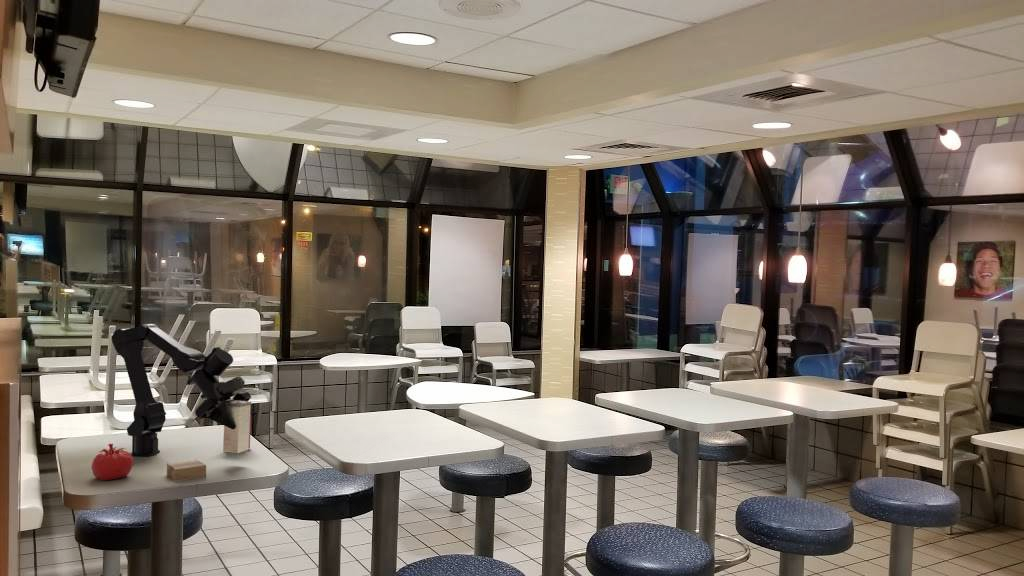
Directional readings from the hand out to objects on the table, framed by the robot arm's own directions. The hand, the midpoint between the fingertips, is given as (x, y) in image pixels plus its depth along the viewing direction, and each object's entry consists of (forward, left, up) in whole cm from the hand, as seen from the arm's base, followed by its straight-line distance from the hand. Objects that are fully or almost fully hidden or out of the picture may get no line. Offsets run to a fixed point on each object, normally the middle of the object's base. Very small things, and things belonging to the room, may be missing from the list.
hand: (240, 426), depth 226 cm
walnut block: (-8, -14, -12) cm, 20 cm away
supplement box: (-10, +18, -11) cm, 24 cm away
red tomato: (-26, -20, -12) cm, 35 cm away
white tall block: (-1, 0, -7) cm, 7 cm away
